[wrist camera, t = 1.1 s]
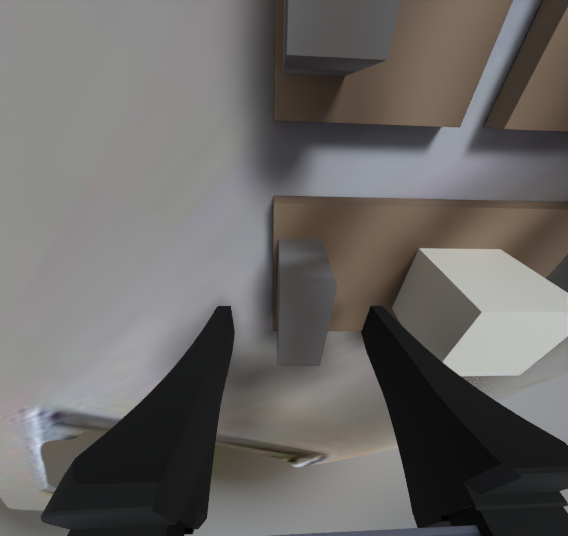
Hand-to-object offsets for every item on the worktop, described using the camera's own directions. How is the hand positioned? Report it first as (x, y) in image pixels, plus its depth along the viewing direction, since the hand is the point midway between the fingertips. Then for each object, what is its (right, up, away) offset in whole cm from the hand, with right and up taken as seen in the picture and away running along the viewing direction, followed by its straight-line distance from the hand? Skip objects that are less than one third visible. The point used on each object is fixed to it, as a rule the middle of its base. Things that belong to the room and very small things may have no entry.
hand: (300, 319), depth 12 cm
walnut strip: (+7, +3, +4) cm, 9 cm away
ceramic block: (+9, +2, +3) cm, 10 cm away
